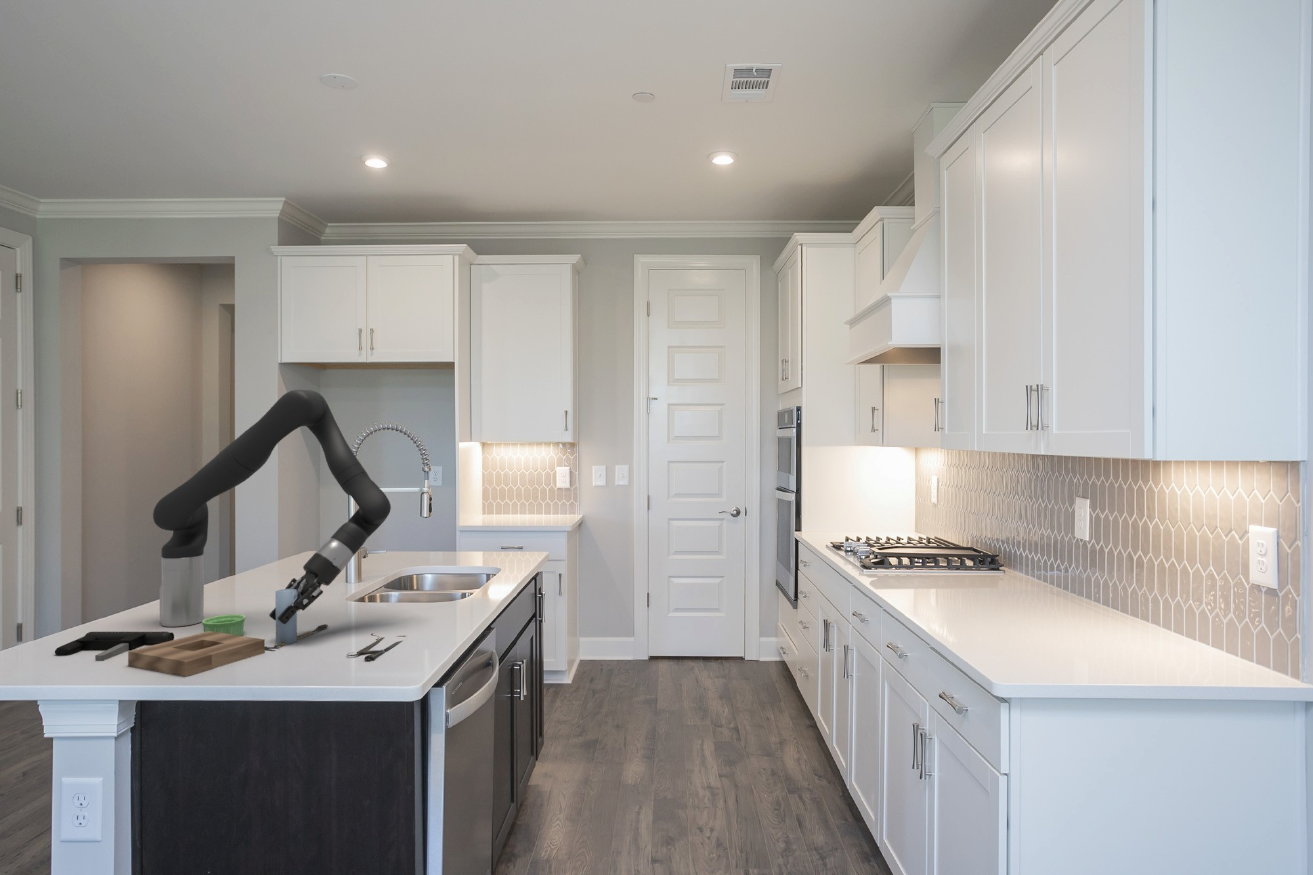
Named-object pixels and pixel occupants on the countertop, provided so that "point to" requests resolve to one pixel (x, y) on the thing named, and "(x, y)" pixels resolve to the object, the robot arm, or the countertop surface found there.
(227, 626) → the ramekin
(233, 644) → the socket block
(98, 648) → the black angled piece
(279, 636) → the pin
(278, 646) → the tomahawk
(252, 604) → the countertop surface
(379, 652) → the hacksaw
